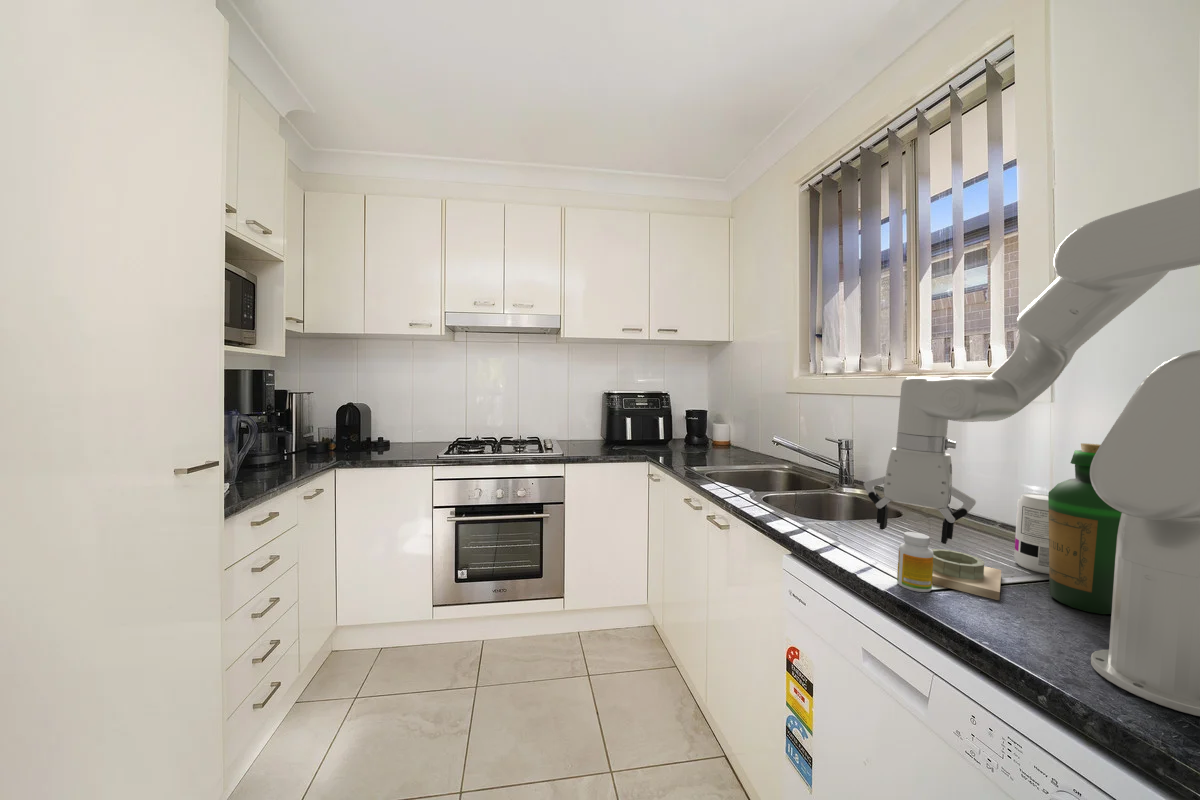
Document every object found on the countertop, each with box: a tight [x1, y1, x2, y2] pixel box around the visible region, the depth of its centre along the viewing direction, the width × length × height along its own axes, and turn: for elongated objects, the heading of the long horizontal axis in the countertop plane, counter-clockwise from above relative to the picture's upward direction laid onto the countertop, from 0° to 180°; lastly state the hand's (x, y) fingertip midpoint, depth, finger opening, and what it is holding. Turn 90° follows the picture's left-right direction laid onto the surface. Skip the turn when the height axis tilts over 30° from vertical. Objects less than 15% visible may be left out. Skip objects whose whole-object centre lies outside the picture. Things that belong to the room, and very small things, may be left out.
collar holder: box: [930, 548, 1002, 601], centre depth 92 cm, size 14×14×4 cm
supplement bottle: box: [896, 531, 934, 593], centre depth 87 cm, size 5×5×10 cm
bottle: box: [1047, 443, 1122, 615], centre depth 81 cm, size 11×11×28 cm
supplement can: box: [1013, 492, 1049, 575], centre depth 98 cm, size 8×8×15 cm
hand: (912, 534), depth 88 cm, fingers open, 9 cm apart
